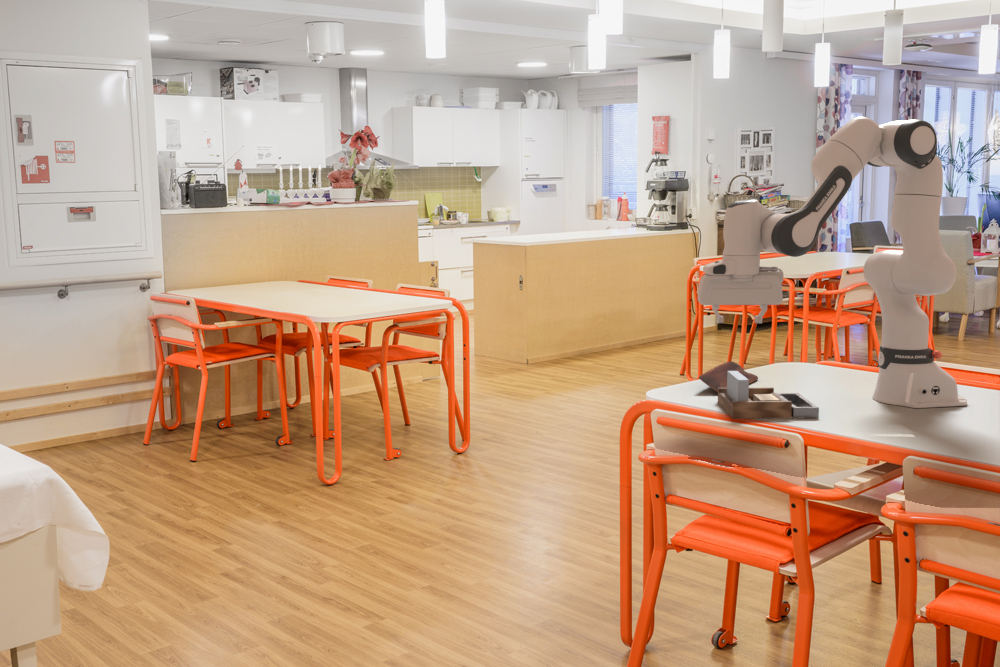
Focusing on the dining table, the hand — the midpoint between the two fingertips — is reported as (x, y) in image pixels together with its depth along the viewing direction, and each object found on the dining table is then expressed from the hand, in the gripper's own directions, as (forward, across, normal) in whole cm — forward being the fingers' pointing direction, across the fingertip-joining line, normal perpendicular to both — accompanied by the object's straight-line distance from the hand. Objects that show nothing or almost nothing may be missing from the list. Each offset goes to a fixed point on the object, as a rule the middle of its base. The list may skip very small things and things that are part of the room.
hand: (739, 323), depth 231 cm
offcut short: (+20, -7, 0) cm, 22 cm away
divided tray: (+22, -3, 0) cm, 22 cm away
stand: (+22, -15, 0) cm, 26 cm away
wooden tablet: (+22, -8, -26) cm, 35 cm away
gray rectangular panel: (+22, 0, 0) cm, 22 cm away
